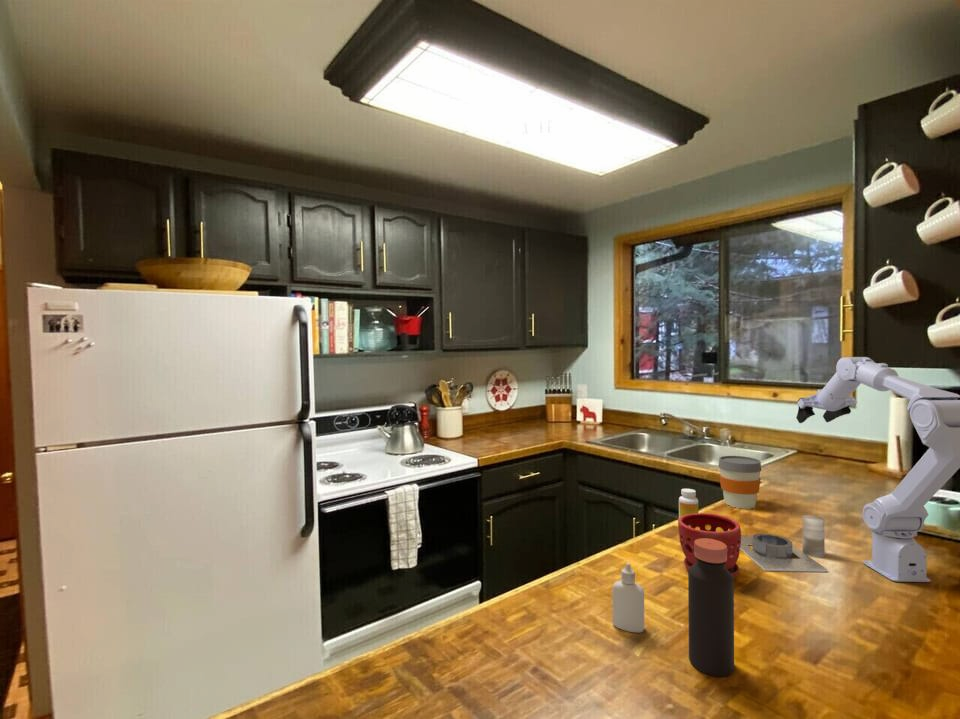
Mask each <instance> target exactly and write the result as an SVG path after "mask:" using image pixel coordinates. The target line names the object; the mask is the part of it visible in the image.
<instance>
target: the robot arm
mask: <svg viewBox="0 0 960 719" xmlns="http://www.w3.org/2000/svg"><path fill="white" fill-rule="evenodd" d="M835 367H836V368H835V370H836V372H835V373H834V374H833V376H831V378H830V380H828V382H827V383H826V384H825V385H824V387H823V388H821V389H820V388H819V389H817V393H815V394H812V395H810V396H807V397H799V399H798V400H797V406H798V411H797V414H796V421H798V424H803V423H804V422H806V420H808V419H809V418H811V417H812V416H815V415H816V413H815V411H814V408H815V409H819V410H824V411H825V412H824V413H823V415H822V418H823V419H824V421H825V423H829V422H832V421H833V420H835V419H837V418H839V417H842V416H845V415H850V414H851V413H852V409H851V408H853V407H854V406H856V404H857V403H858V401H857V400H856V399H855V397H854V396H851V395H852V394H853V393H854V392H855V391H856V390H857V388H858V387H859V386H860V385H861V384H863V385H865V386H866V387H869V388H872V389H873V390H876V391H879V392H887V391H891V392H893V393H895V394H897V395H898V396H900V397H902V398H905V399H906V400H908V401H909V402H908V404H907V405H906V406H907V407H906V410H907V411H908V412H909V416H910V420H911V422H912V425H913V427H914V428H915V430H916V432H917V434H918V436H919V439H920V440H921V443H922V445H924V446H927V447H928V449H927V450H926V452H924V453H923V455H922V456H921V458H920V459H919V460H918V461H917V462H916V463H915V465H913V467H912V468H911V469H910V470H909V471H908V473H907V474H906V475H905V476H904V477H903V479H902V480H901V481H900V482H899V483H898V484H897V486H896V487H895V488H894V490H893V491H892V492H891V493H889V494H886V495H883V496H880V497H877V498H875V499H874V501H872V502H871V503H870V502H868V503H866V504H864V506H863V509H862V514H861V515H862V519H863V522H864V523H865V525H866V526H867V527H868V529H869V531H871V534H872V535H871V536H872V537H871V540H872V541H871V543H872V545H871V548H872V549H871V550H872V551H871V552H872V554H871V556H872V557H871V558H872V559H871V560H862V563H863V564H864V565H865V566H867V567H869V568H871V569H872V570H874V571H876V572H877V573H879V574H880V575H882V576H884V577H886V578H887V579H889V580H890V581H892V582H903V583H904V582H906V583H907V582H908V583H912V582H914V583H931V582H932V581H931V579H930V578H928V577H927V565H928V564H927V557H928V556H927V552H926V550H925V548H924V547H922V545H921V544H919V543H918V542H917V541H916V539H915V537H917V536H918V532H921V531H922V529H924V525H925V521H926V519H927V518H928V516H929V512H928V510H927V509H926V507H925V505H927V503H928V502H929V501H930V500H931V499H932V498H933V497H934V496H935V494H937V492H939V491H940V489H941V488H943V486H944V485H945V484H946V483H947V482H948V481H949V480H950V479H951V478H952V477H953V476H954V475H955V474H956V473H957V472H958V470H959V469H960V394H958V393H955V392H951V391H947V390H944V389H939V388H936V387H933V386H929V385H926V384H923V383H919V382H917V381H914V380H911V379H907V378H905V377H901V376H899V373H898V371H897V370H895V369H893V368H891V367H889V365H888V364H887V363H885V362H881V363H877V362H875V361H874V360H873V359H872V358H870V357H868V356H852V357H851V356H848V357H847V356H846V357H841V358H840V359H838V361H837V363H836V366H835Z"/></svg>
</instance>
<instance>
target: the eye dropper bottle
mask: <svg viewBox="0 0 960 719" xmlns="http://www.w3.org/2000/svg"><path fill="white" fill-rule="evenodd" d="M620 579H621V580H617V581H615V582H614V583H613V584H612V625H613V626H614V627H615V628H618V629H619V630H623V631H626V632H630V633H635V634H637V633H643V632H644V630H645V591H644V590H645V589H644V588H643V587H642V586H641V585H640V584H639V583H637V582H636V571H635V570H634V569H632V568H631V563H630V562H626V563H625V567H624V568H621V578H620Z"/></svg>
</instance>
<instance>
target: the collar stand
mask: <svg viewBox="0 0 960 719" xmlns="http://www.w3.org/2000/svg"><path fill="white" fill-rule="evenodd" d="M748 545H753V546H752V547H751V546H748ZM740 549H741V550H742V551H743V552H742V551H741V550H740V551H741V552H742V553H743V554H745V555H746V556H747V557H748V556H749V557H750V558H751V561H753V562H754V563H755V564H756V565H757V566H758V567H760V568H761V569H762V570H763V571H764V572H805V573H806V572H811V573H814V572H815V573H818V572H819V573H828V568H826V567H825V566H823V565H822V564H820V563H819V562H817V561H816V560H815V559H813V557H811V556H808V555H806V554H805V553H803V550H800V549H799V548H797V547H796V546H795V545H794V544H793V541H792V540H790V539H788V538H786V537H783V536H781V535H778V534H771V533H756V534H753V535H752V534H751V535H749V534H745V535H744V534H741V545H740ZM793 556H794V557H796V558H793ZM749 557H748V558H749Z"/></svg>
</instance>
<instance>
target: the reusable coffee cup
mask: <svg viewBox="0 0 960 719" xmlns="http://www.w3.org/2000/svg"><path fill="white" fill-rule="evenodd" d="M718 468H719V482H720V488H721V489H722V493H723V500H724V501H723V502H724V504H725V503H726V504H727V505H726V504H725V505H726V506H728V505H730V506H732V507H731V508H734V507H736V508H735V509H739V508H742V509H741V510H751V508H753V509H755V508H756V503H757V499H758V498H757V497H758V494H759V492H760V487H761V486H760V485H761V477H760V476H761V475H760V474H761V472H762V464H761V460H759V459H758V458H753V457H750V456H749V457H748V456H742V455H741V456H740V455H724V456H720V457H719V459H718ZM730 506H729V507H730Z"/></svg>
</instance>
